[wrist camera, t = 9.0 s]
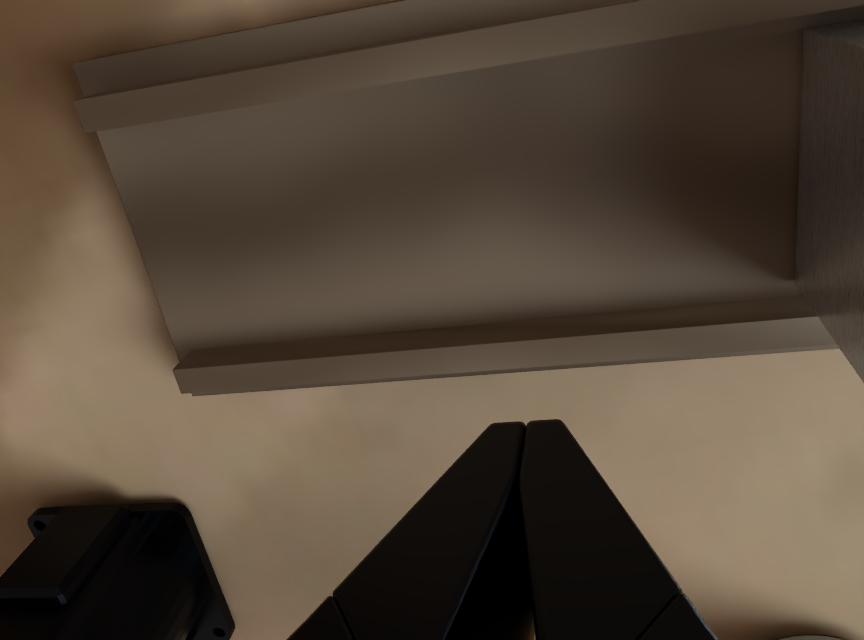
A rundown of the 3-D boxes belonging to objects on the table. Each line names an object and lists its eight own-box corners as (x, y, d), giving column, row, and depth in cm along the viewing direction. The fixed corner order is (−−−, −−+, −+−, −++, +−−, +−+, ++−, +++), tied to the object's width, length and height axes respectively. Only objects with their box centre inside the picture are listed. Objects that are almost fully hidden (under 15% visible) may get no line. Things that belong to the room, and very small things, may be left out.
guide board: (1109, 308, 18) (1282, 420, 14) (206, 379, 24) (125, 477, 19) (1217, -155, 14) (1508, -201, 10) (93, 58, 20) (-42, 89, 15)
